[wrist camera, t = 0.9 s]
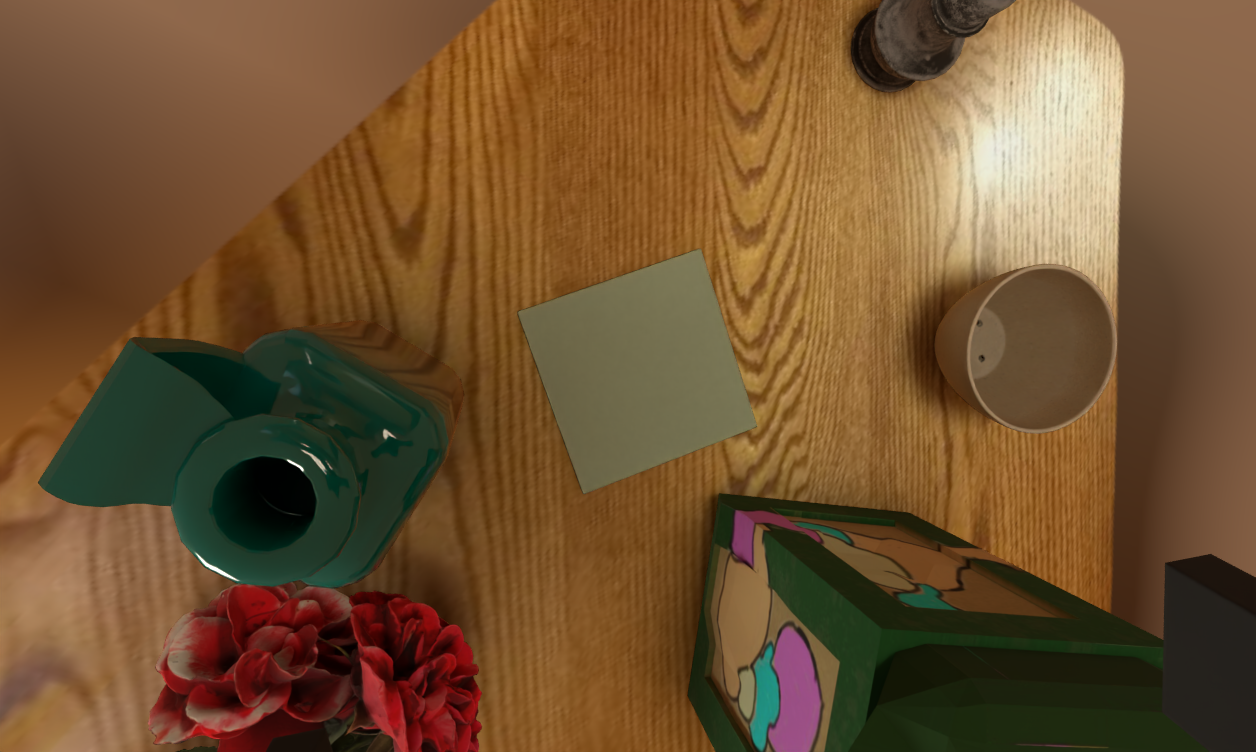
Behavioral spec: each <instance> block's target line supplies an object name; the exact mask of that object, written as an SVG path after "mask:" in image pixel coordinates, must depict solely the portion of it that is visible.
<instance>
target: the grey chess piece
mask: <svg viewBox="0 0 1256 752" xmlns="http://www.w3.org/2000/svg"><path fill="white" fill-rule="evenodd" d="M1015 1H1016V0H882V2H881V3H880V5H879V8H876V9H874V10H872V11H871V12H869V13H868V14H867V15H865V16H864V17H863V18H862V19H861V20H860V22H859V23H858V25H857V27H856V28H855V31H854V34H853V37H852V42H851V55H852V60H853V64H854V66H855V69H856V71H857V73H858V74H859V76H860V77H861V78H862V79H863V81H864V82H865V83H867V84H868V85H869V86H871V87H872V88H874V89H877V90H879V91H882V92H896V91H901V90H903V89H905V88H907V87H908V86H910V85H912V84H913V83H914V82H915V81H926V80H931V79H935V78H936V77H938V76H940V75H942V74H944V73H946V72H947V71H948V70H949V69H950V68H951V67H952V66H953V65H954V64H955V62H956V60H957V59H958V57H959V55H960V54H961V51H962V48H963V44H964V41H965V37H970V36H972V35H974V34H976V33H978V32H979V31H980V30H981V29H982V28H983V27H984V26H985V25H986V23H987V21H988V20H989V18H990V17H992V16H993V15H995V14H997V13H999V12H1000V11H1002V10H1004V9H1006V8H1007V7H1009V6H1010V5H1011V4H1012V3H1014V2H1015Z"/></svg>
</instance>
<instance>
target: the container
mask: <svg viewBox="0 0 1256 752" xmlns="http://www.w3.org/2000/svg"><path fill="white" fill-rule="evenodd" d="M1163 643H1164V640H1162V639H1160V638H1158V637H1156V636H1154V635H1152V634H1150V633H1148V632H1146V631H1144V630H1142V629H1140V628H1138V627H1136V626H1134V625H1132V624H1130V623H1128V622H1126V621H1124V620H1122V619H1120V618H1118V617H1116V616H1114V615H1112V614H1110V613H1108V612H1106V611H1104V610H1102V609H1100V608H1098V607H1096V606H1094V605H1092V604H1090V603H1088V602H1086V601H1084V600H1082V599H1080V598H1078V597H1076V596H1074V595H1072V594H1070V593H1068V592H1066V591H1064V590H1062V589H1060V588H1058V587H1056V586H1054V585H1052V584H1050V583H1048V582H1046V581H1044V580H1042V579H1040V578H1038V577H1036V576H1034V575H1032V574H1030V573H1028V572H1026V571H1024V570H1022V569H1020V568H1018V567H1016V566H1014V565H1012V564H1010V563H1008V562H1006V561H1004V560H1002V559H1000V558H998V557H996V556H994V555H992V554H990V553H988V552H986V551H984V550H982V549H980V548H978V547H976V546H974V545H972V544H970V543H968V542H966V541H964V540H962V539H960V538H958V537H956V536H954V535H952V534H950V533H948V532H946V531H944V530H942V529H940V528H938V527H936V526H934V525H932V524H930V523H928V522H927V521H925V520H923V519H921V518H919V517H917V516H915V515H913V514H911V513H906V512H897V511H887V510H877V509H868V508H858V507H848V506H838V505H829V504H819V503H809V502H799V501H790V500H780V499H770V498H760V497H751V496H741V495H731V494H722V493H719V499H718V505H717V511H716V518H715V524H714V530H713V537H712V543H711V549H710V556H709V562H708V568H707V575H706V581H705V587H704V594H703V600H702V607H701V613H700V619H699V626H698V632H697V638H696V645H695V651H694V657H693V664H692V670H691V676H690V683H689V689H688V697H689V699H690V701H691V703H692V705H693V707H694V709H695V711H696V713H697V715H698V717H699V719H700V721H701V723H702V725H703V727H704V729H705V731H706V733H707V735H708V737H709V739H710V741H711V743H712V745H713V747H714V749H715V751H716V752H1209V751H1208V750H1207V749H1206V748H1205V747H1203V746H1202V745H1201V744H1200V743H1199V742H1197V741H1196V740H1195V739H1194V738H1193V737H1191V736H1190V735H1189V734H1188V733H1186V732H1185V731H1184V730H1183V729H1182V728H1180V727H1179V726H1178V725H1177V724H1176V723H1174V722H1173V721H1172V720H1171V719H1170V718H1168V717H1167V716H1166V715H1165V714H1163V713H1162V689H1163Z"/></svg>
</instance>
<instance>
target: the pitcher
mask: <svg viewBox="0 0 1256 752" xmlns="http://www.w3.org/2000/svg"><path fill="white" fill-rule="evenodd" d="M463 400H464V390H463V386H462V382H461V379H460V378H459V376H458V375H457V374H456V372H455V371H454V370H453V368H451V367H450V366H448V365H446V364H445V363H443V362H441V361H440V360H438V359H436V358H435V357H433V356H431V355H430V354H428V353H426V352H424V351H423V350H421V349H419V348H418V347H416V346H414V345H413V344H411V343H409V342H408V341H406V340H404V339H403V338H401V337H399V336H398V335H396V334H394V333H393V332H391V331H389V330H388V329H386V328H384V327H383V326H381V325H379V324H378V323H376V322H370V321H364V320H356V321H347V322H339V323H330V324H321V325H312V326H304V327H295V328H290V329H285V330H280V331H275V332H271V333H266V334H264V335H263V336H262V337H260V338H259V339H257V340H256V341H255V342H253V343H252V344H250V345H249V346H248V347H246V348H245V350H244V351H243V353H240V352H237V351H234V350H231V349H228V348H224V347H221V346H217V345H214V344H210V343H205V342H201V341H195V340H188V339H171V338H141V337H133V338H131V339H129V341H128V342H127V344H126V345H125V347H124V349H123V350H122V352H121V353H120V355H119V356H118V358H117V359H116V361H115V363H114V364H113V366H112V367H111V369H110V370H109V372H108V374H107V375H106V377H105V378H104V380H103V381H102V383H101V384H100V386H99V388H98V389H97V391H96V392H95V394H94V395H93V397H92V399H91V400H90V402H89V403H88V405H87V406H86V408H85V409H84V411H83V413H82V414H81V416H80V417H79V419H78V420H77V422H76V424H75V425H74V427H73V428H72V430H71V431H70V433H69V434H68V436H67V438H66V439H65V441H64V442H63V444H62V445H61V447H60V449H59V450H58V452H57V453H56V455H55V456H54V458H53V459H52V461H51V463H50V464H49V466H48V467H47V469H46V470H45V472H44V473H43V475H42V477H41V478H40V480H39V481H38V484H39V485H40V486H41V487H42V488H43V489H44V490H45V491H47V492H48V493H50V494H52V495H53V496H55V497H57V498H60V499H62V500H64V501H66V502H69V503H73V504H77V505H82V506H94V507H109V506H119V505H126V504H151V505H159V506H171V510H172V513H173V516H174V520H175V523H176V526H177V529H178V532H179V535H180V538H181V541H182V543H183V544H184V545H185V546H186V547H187V548H188V549H189V550H190V552H191V553H192V554H193V555H194V556H195V557H196V558H197V559H198V561H199V562H200V563H201V564H202V565H203V566H204V567H205V568H207V569H209V570H211V571H213V572H215V573H217V574H219V575H221V576H223V577H225V578H227V579H229V580H231V581H233V582H235V583H238V584H249V585H260V586H271V587H275V586H278V585H282V584H286V583H290V582H293V581H297V580H299V581H301V582H303V583H305V584H307V585H309V586H311V587H321V588H331V589H335V588H338V587H342V586H346V585H350V584H353V583H357V582H359V581H361V580H362V579H364V578H365V577H366V576H368V575H369V574H371V573H372V572H373V571H375V570H376V569H377V568H378V567H379V566H380V565H381V563H382V561H383V560H384V558H385V557H386V555H387V553H388V552H389V550H390V549H391V547H392V546H393V544H394V542H395V541H396V539H397V538H398V536H399V534H400V533H401V531H402V530H403V528H404V526H405V525H406V523H407V522H408V520H409V519H410V517H411V515H412V514H413V512H414V511H415V509H416V507H417V506H418V504H419V503H420V501H421V500H422V498H423V496H424V495H425V493H426V492H427V490H428V488H429V487H430V485H431V484H432V482H433V480H434V479H435V477H436V476H437V474H438V473H439V471H440V469H441V468H442V466H443V465H444V463H445V461H446V460H447V457H448V454H449V451H450V447H451V444H452V441H453V437H454V434H455V431H456V427H457V424H458V420H459V417H460V414H461V410H462V406H463Z"/></svg>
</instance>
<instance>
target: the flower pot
mask: <svg viewBox="0 0 1256 752" xmlns="http://www.w3.org/2000/svg"><path fill="white" fill-rule="evenodd" d="M977 321H978V323H977ZM976 324H977V325H976ZM1116 351H1117V332H1116V325H1115V320H1114V317H1113V313H1112V310H1111V308H1110V305H1109V303H1108V301H1107V299H1106V297H1105V296H1104V294H1103V293H1102V291H1101V290H1100V289H1099V287H1098V286H1097V285H1096V284H1095V283H1094V282H1093V281H1092V280H1090V279H1089V278H1088V277H1087V276H1085V275H1084V274H1082V273H1081V272H1079V271H1077V270H1075V269H1072V268H1070V267H1067V266H1063V265H1056V264H1040V265H1034V266H1029V267H1024V268H1020V269H1016V270H1013V271H1010V272H1007V273H1004V274H1002V275H999V276H997V277H994V278H992V279H990V280H988V281H986V282H984V283H982V284H981V285H979V286H977V287H976V288H974V289H972V290H971V291H970V292H968V293H967V294H966V295H964V296H963V297H962V298H961V299H960V300H958V301H957V302H956V303H955V304H954V305H953V306H952V307H951V308H950V310H949V311H948V312H947V313H946V315H945V316H944V317H943V319H942V321H941V322H940V324H939V327H938V329H937V332H936V336H935V355H936V359H937V362H938V365H939V367H940V369H941V371H942V373H943V375H944V377H945V378H946V380H947V381H948V382H949V384H950V385H951V387H952V388H953V389H954V390H955V391H956V393H957V394H958V395H959V396H960V397H961V398H962V399H963V400H965V401H966V402H967V403H968V404H969V405H970V406H972V407H973V408H974V409H976V410H977V411H979V412H980V413H982V414H983V415H985V416H986V417H988V418H990V419H992V420H993V421H995V422H997V423H999V424H1001V425H1003V426H1006V427H1008V428H1010V429H1013V430H1016V431H1020V432H1025V433H1037V434H1038V433H1047V432H1052V431H1055V430H1058V429H1061V428H1063V427H1066V426H1068V425H1069V424H1071V423H1073V422H1074V421H1076V420H1078V419H1079V418H1080V417H1082V416H1083V415H1084V414H1085V413H1086V412H1087V411H1088V410H1089V409H1090V408H1091V407H1092V406H1093V405H1094V404H1095V403H1096V401H1097V400H1098V399H1099V397H1100V396H1101V394H1102V392H1103V391H1104V389H1105V387H1106V385H1107V383H1108V381H1109V379H1110V376H1111V373H1112V370H1113V367H1114V363H1115V358H1116ZM981 355H982V356H983V357H984V359H982V358H981Z"/></svg>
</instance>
